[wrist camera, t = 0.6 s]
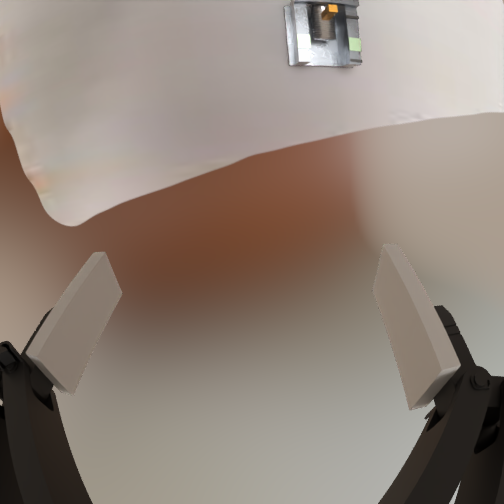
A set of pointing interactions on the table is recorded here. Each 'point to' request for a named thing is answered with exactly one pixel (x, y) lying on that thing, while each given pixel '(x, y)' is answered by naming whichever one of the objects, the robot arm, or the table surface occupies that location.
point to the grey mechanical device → (323, 21)
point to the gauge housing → (323, 52)
